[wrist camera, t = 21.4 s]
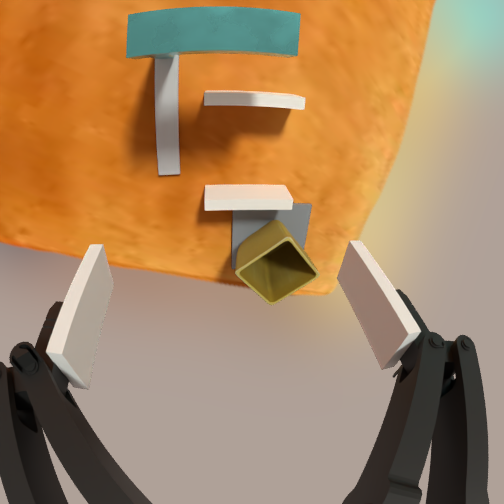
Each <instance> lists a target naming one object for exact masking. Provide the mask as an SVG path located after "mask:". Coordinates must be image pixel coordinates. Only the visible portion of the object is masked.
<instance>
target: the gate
mask: <svg viewBox="0 0 504 504" xmlns="http://www.w3.org/2000/svg"><path fill="white" fill-rule="evenodd" d="M299 28H300V13H293V12H287V11H279V10H270V9H260V8H246V7H188V8H175V9H164V10H156V11H148V12H142V13H136V14H130V15H128V29H127V55H126V58H131V59H142V58H149V57H151V58H155V59H168V58H174V55H182V54H207V53H229V54H254V55H268V56H278V57H288V58H289V57H294V56H297V55H298V42H299Z"/></svg>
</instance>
